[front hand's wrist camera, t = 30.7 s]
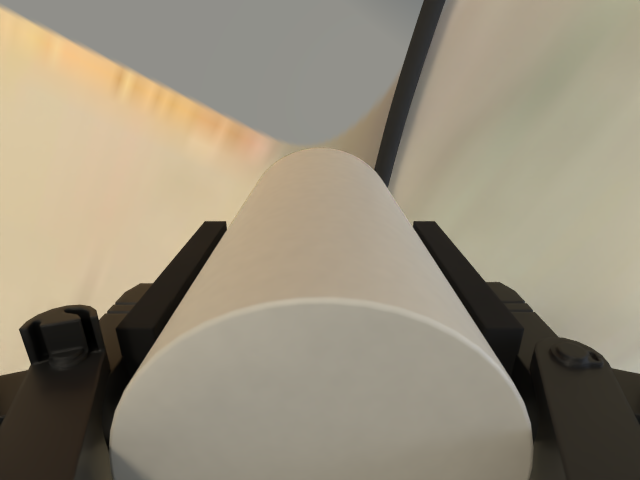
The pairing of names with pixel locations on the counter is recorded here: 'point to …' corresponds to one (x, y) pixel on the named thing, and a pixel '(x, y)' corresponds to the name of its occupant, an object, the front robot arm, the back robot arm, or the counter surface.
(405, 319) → the canister
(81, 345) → the front robot arm
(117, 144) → the counter surface
